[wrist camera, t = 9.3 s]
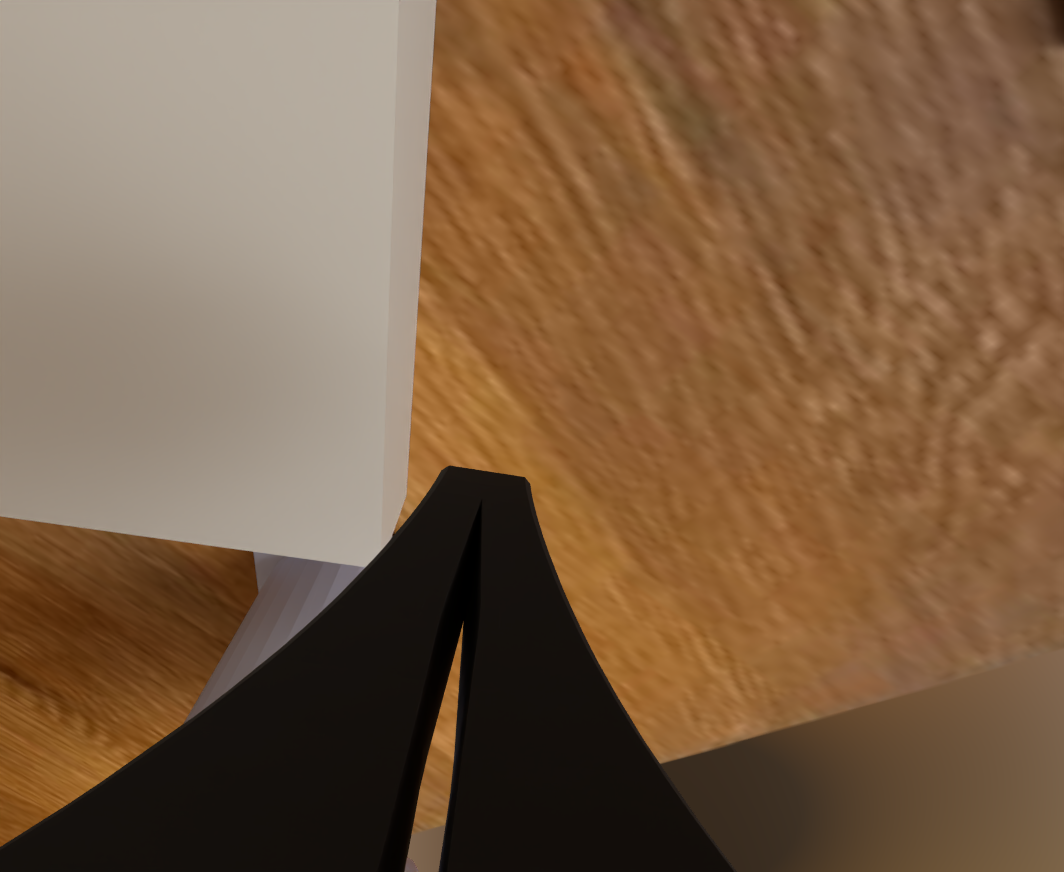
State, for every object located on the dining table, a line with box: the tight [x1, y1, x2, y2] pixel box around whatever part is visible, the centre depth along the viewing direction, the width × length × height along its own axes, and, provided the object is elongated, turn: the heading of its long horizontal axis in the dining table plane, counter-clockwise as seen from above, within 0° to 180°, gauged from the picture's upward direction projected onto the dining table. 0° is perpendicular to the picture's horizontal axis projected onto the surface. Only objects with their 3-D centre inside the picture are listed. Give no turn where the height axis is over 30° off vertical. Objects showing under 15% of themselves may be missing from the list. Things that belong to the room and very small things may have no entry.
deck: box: [0, 0, 436, 567], centre depth 14 cm, size 22×14×4 cm, turn 171°
